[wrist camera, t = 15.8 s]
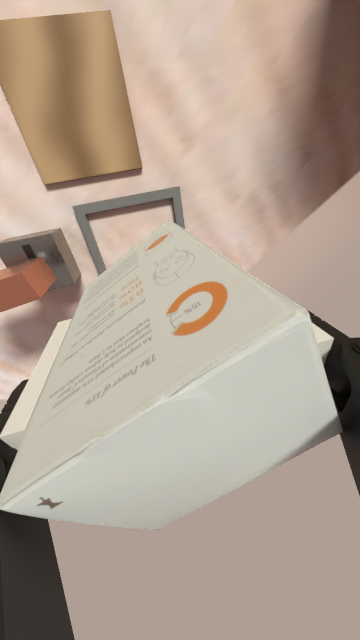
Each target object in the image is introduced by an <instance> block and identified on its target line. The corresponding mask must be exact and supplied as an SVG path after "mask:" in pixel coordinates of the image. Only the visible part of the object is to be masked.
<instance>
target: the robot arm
mask: <svg viewBox="0 0 360 640" xmlns="http://www.w3.org/2000/svg"><path fill="white" fill-rule="evenodd" d="M306 310H307V309H306ZM307 311H308V310H307ZM308 312H309V314H310V318H311V322H312V326H313V330H314V334H315V337H316V341H317V344H318V348H319V351H320V355H321V358H322V362H323V366H324V369H325V373H326V376H327V380H328V383H329V386H330V390H331V393H332V397H333V400H334V404H335V407H336V410H337V414H338V416H339V419H340V422H341V426H342V428H343V431H342V433H340V436H341V439H342V442H343V445H344V448H345V452H346V455H347V458H348V461H349V464H350V467H351V470H352V473H353V476H354V479H355V483H356V486H357V489H358V492H359V495H360V338H349V337H348V336H346V335H345V334H343V333H342V332H340V331H339V330H337V329H336V328H334V327H332V326H331V325H329V324H328V323H326V322H325V321H322V320H321V319H320V318H319V317H317V316H315V315H314V314H312V313H311V312H310V311H308ZM71 322H72V319H68V320H64V321H61V322H58V324H57V326H56V328H55V330H54V332H53V334H52V335H51V337H50V339H49V341H48V343H47V345H46V347H45V349H44V351H43V353H42V355H41V357H40V359H39V361H38V363H37V365H36V366H35V368H34V370H33V372H32V374H31V376H30V378H29V379H28V380H24V381H22V382H21V383H20V384H19V385H18V386H17V387H16V388H15V389H14V391H13V392H12V394H11V395H10V397H9V399H8V401H7V404H5V406H4V408H3V410H2V413H1V414H0V493H1V491H2V488H3V486H4V483H5V481H6V479H7V476H8V474H9V471H10V469H11V466H12V464H13V462H14V459H15V457H16V454H17V452H18V450H19V447H20V445H21V442H22V440H23V437H24V435H25V433H26V430H27V428H28V425H29V423H30V420H31V418H32V416H33V413H34V411H35V408H36V406H37V404H38V401H39V399H40V396H41V394H42V392H43V389H44V387H45V384H46V382H47V379H48V377H49V374H50V372H51V370H52V367H53V365H54V363H55V360H56V358H57V355H58V353H59V351H60V348H61V346H62V344H63V341H64V339H65V337H66V334H67V332H68V330H69V327H70V325H71ZM0 640H74V635H73V631H72V626H71V621H70V617H69V613H68V608H67V604H66V599H65V595H64V590H63V586H62V582H61V577H60V572H59V568H58V563H57V559H56V555H55V550H54V545H53V541H52V537H51V532H50V527H49V523H48V519H44V518H38V517H32V516H27V515H21V514H16V513H11V512H7V511H3V510H0Z"/></svg>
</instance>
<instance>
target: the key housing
mask: <svg viewBox="0 0 360 640" xmlns="http://www.w3.org/2000/svg"><path fill="white" fill-rule="evenodd" d="M39 257H43V258H44V260H45V261H46V263H47V264H48V266H49V267H50V269H51V270H52V272H53V273H54V275H55V276H56V280H55V281H54V282H53V284H52V285H51V286H50V287H49V289H48V290H51V289H56V288H60V287H65V286H69V285H73V284H75V283H76V281H77V280H78V278H79V276H80V274H81V273H80V271H79V269H78V266H77V264H76V262H75V260H74V257H73V255H72V253H71V250H70V248H69V246H68V244H67V241H66V239H65V237H64V235H63V232H62V230H61V228H58V229H53V230H48V231H43V232H38V233H33V234H28V235H23V236H18V237H13V238H9V239H6V240H4V241H1V242H0V258H1V259H2V261H3V262H4V264H5V265H6V267H7V268H9V267H12V266H15V265H18V264H21V263H24V262H26V261H27V260H29V259H30V258H39Z"/></svg>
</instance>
